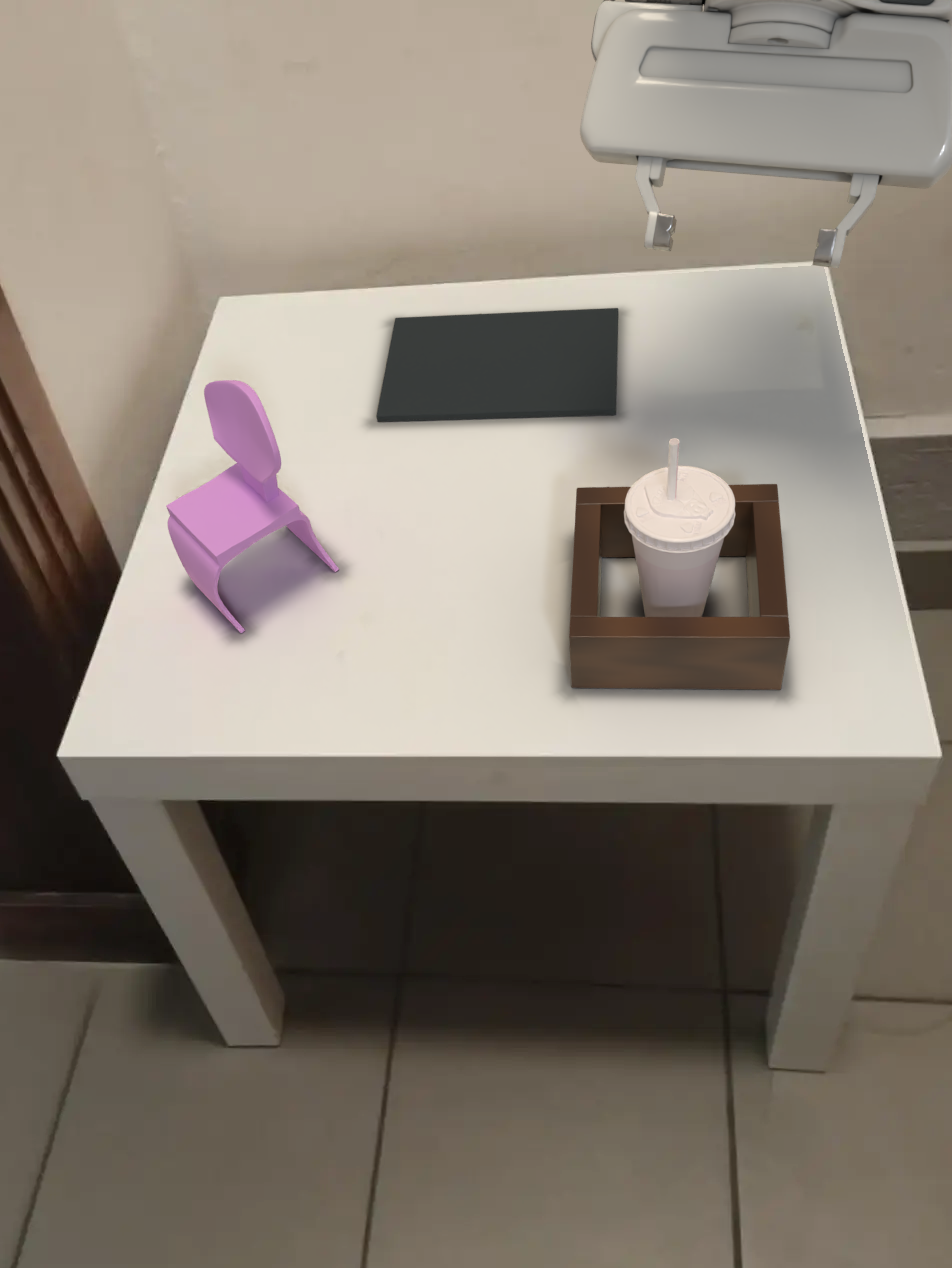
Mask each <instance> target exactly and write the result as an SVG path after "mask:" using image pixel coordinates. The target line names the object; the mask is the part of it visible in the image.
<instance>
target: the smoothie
mask: <svg viewBox="0 0 952 1268" xmlns="http://www.w3.org/2000/svg"><path fill="white" fill-rule="evenodd" d="M679 453H680V440H679V439H678V438H675V437H673V438H670V440H668V458H667V466H666V467H661V468H657V469H654V470H652V471H649V472H647V473H645V474H643V475H642V476H641V477H640V478H638V479H637V480H636V481H635V482H634V483H633V484H632V485H631V486H630V487H631V488H630V489H629V491H628V493H627V496H626V499H625V510H624V519H625V524H626V526H627V528H628V530H629V532H630V533H631V534H632V540H633V545H634V551H635V557H634V558H635V562H636V569H637V574H638V581H639V588H640V592H641V600H642V606H643V612H644V617H703V614H704V611H705V607H706V603H707V600H708V596H709V593H710V590H711V585H712V583H713V579H714V576H715V572H716V569H717V565H718V560H719V557H720V556H719V554H720V550H721V547H722V544H723V540H724V537H725V536H726V535H727V534H728V533H729V531H730V529H731V528H732V526H733V524H734V519H735V498H734V494H733V492H732V490H731V488H730V487H729V485H730V484H728V483H727V482H726V481H725V480H724V479H723V478H721V477H720V476H719V475H717V474H715V473H714V472H712V471H709V470H707V469H704V468H701V467H697V466H691V465H679V457H680V456H679V455H680V454H679Z"/></svg>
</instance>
